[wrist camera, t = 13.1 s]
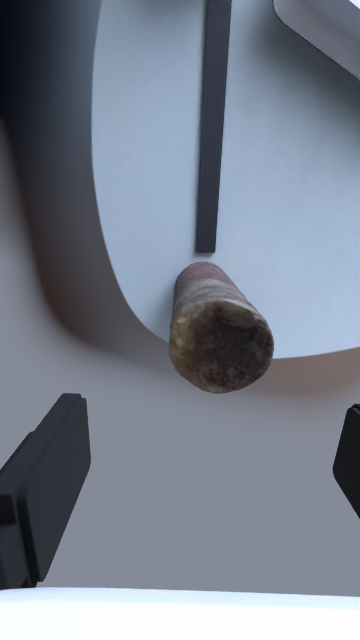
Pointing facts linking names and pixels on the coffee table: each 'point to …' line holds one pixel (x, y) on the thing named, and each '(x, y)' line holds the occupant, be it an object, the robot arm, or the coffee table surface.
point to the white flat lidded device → (326, 27)
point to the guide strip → (212, 121)
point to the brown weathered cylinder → (217, 332)
